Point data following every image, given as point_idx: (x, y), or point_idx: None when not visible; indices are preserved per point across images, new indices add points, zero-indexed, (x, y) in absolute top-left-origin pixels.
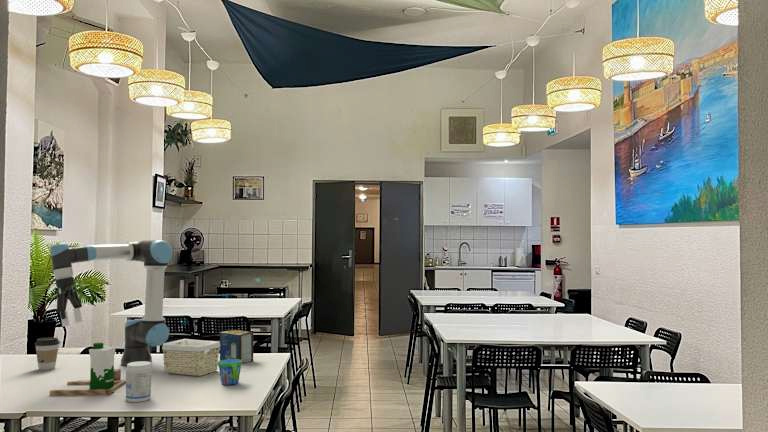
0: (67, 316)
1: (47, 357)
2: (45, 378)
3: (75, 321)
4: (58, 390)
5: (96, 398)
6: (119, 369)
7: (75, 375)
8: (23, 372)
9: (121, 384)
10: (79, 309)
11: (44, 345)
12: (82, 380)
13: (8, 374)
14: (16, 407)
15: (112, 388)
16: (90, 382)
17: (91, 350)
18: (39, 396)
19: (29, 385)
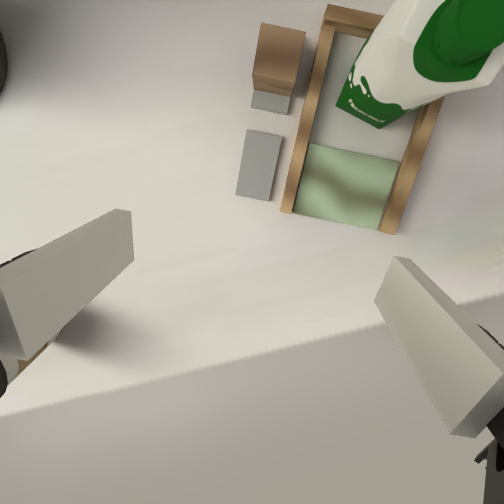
0: (456, 312)
1: None
2: (167, 294)
3: (127, 264)
4: (400, 211)
5: None
6: (272, 25)
7: (139, 224)
8: (86, 363)
9: (369, 15)
10: (23, 271)
11: (3, 372)
12: (239, 181)
13: (106, 388)
14: (487, 278)
15: None
16: (399, 117)
17: (499, 67)
18: (386, 255)
19: (245, 311)
